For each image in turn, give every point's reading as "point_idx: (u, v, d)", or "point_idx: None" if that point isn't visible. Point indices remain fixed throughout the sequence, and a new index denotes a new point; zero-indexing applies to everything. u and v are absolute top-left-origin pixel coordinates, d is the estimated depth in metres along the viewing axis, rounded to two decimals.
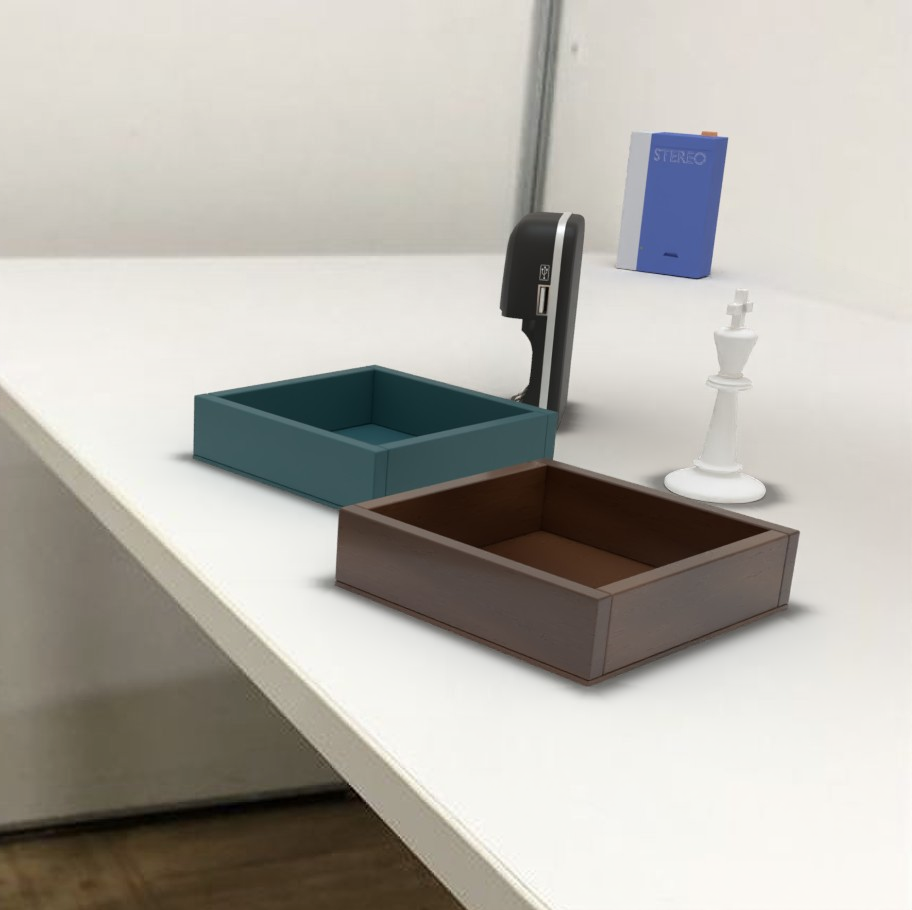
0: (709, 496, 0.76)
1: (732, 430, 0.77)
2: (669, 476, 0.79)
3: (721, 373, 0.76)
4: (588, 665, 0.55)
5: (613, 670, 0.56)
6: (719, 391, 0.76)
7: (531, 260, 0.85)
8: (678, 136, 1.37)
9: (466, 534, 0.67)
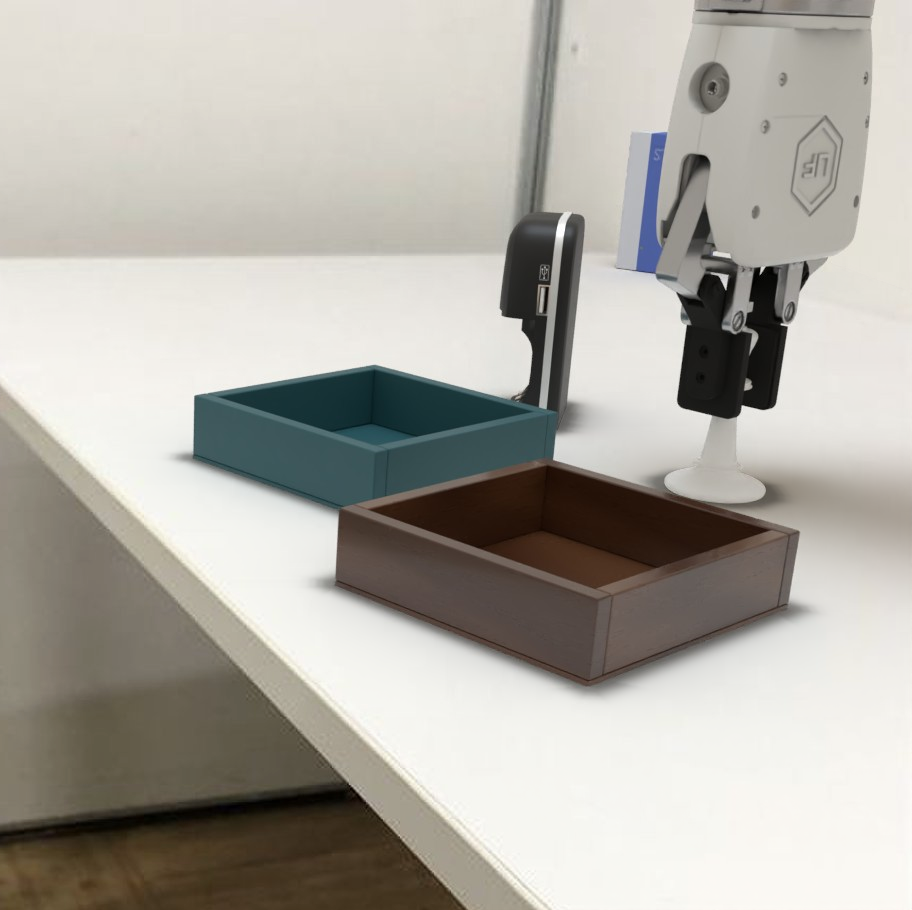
0: (709, 496, 0.76)
1: (732, 430, 0.77)
2: (669, 476, 0.79)
3: None
4: (588, 665, 0.55)
5: (613, 670, 0.56)
6: None
7: (531, 260, 0.85)
8: None
9: (466, 534, 0.67)
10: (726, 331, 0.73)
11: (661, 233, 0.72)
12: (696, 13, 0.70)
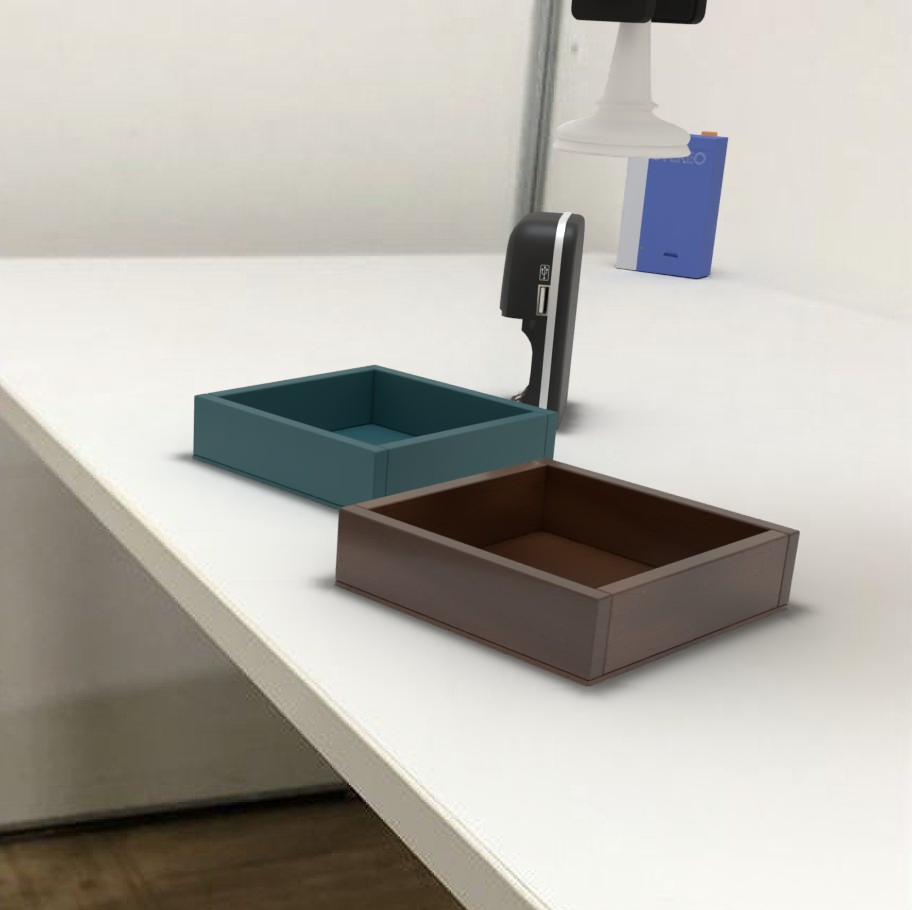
0: (610, 136, 0.56)
1: (644, 50, 0.57)
2: (562, 124, 0.59)
3: None
4: (588, 665, 0.55)
5: (613, 670, 0.56)
6: None
7: (531, 260, 0.85)
8: None
9: (466, 534, 0.67)
10: None
11: None
12: None
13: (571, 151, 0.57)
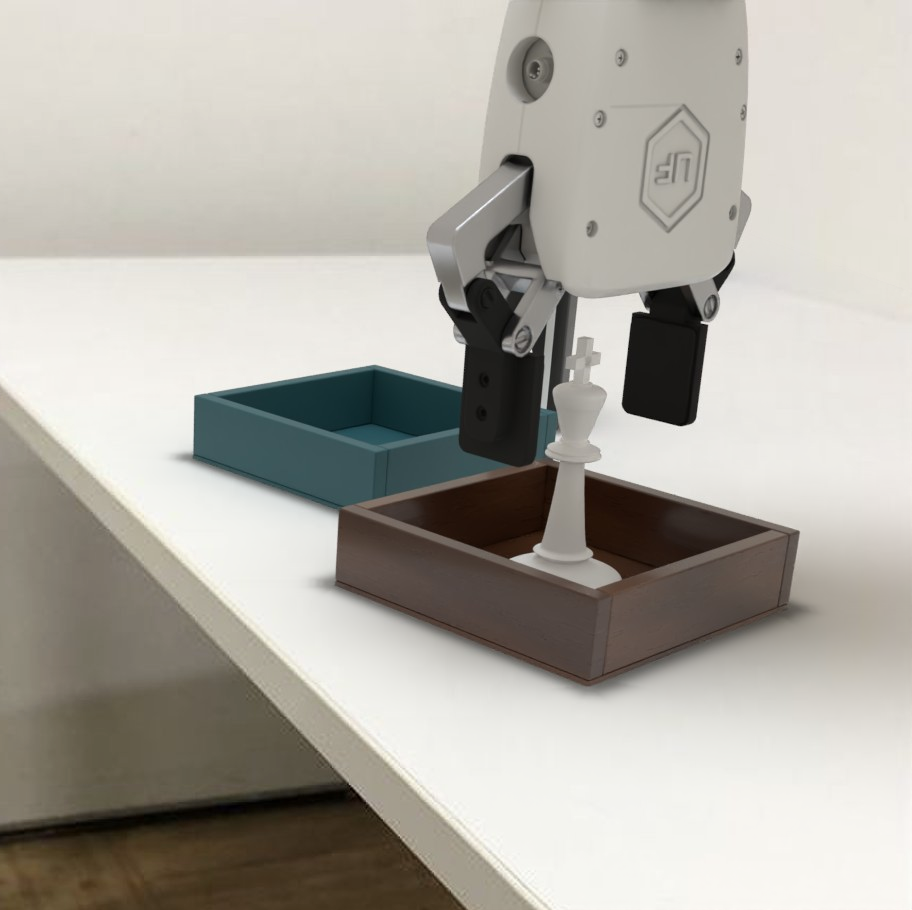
0: None
1: (578, 510, 0.62)
2: None
3: (562, 441, 0.61)
4: (588, 665, 0.55)
5: (613, 670, 0.56)
6: (561, 462, 0.62)
7: None
8: None
9: (466, 534, 0.67)
10: (504, 345, 0.55)
11: None
12: None
13: None
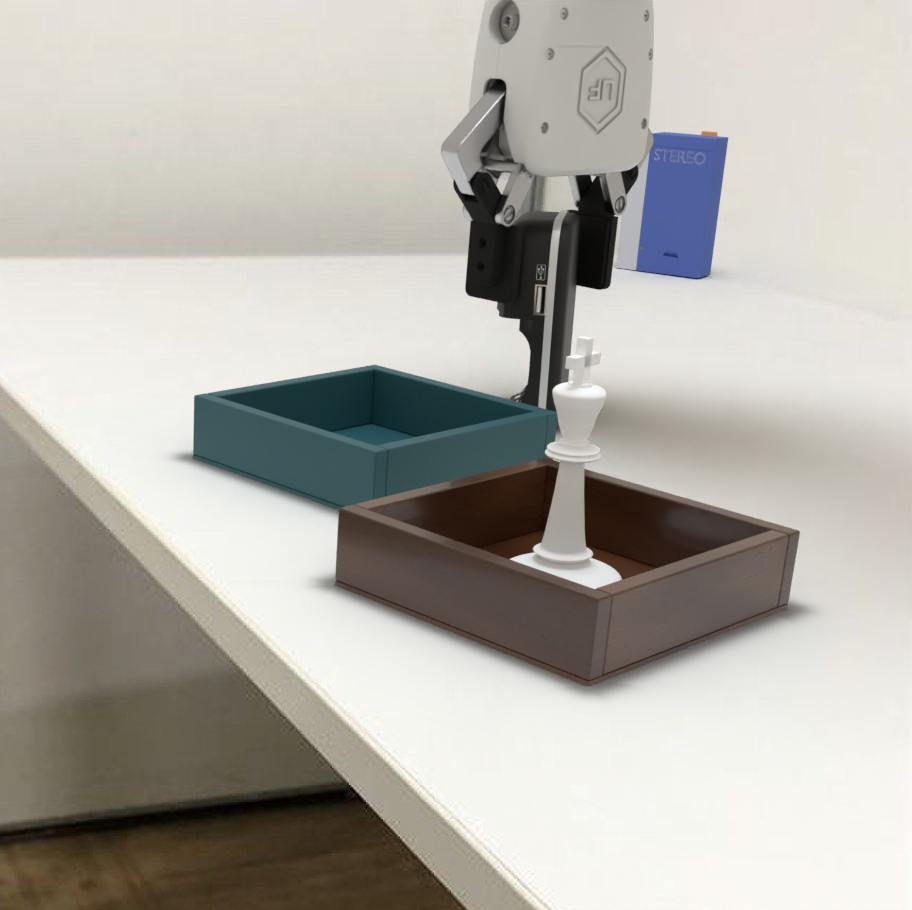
0: None
1: (578, 510, 0.62)
2: None
3: (562, 440, 0.61)
4: (588, 665, 0.55)
5: (613, 670, 0.56)
6: (561, 462, 0.62)
7: (527, 260, 0.85)
8: (678, 136, 1.37)
9: (466, 534, 0.67)
10: (497, 220, 0.83)
11: None
12: None
13: None
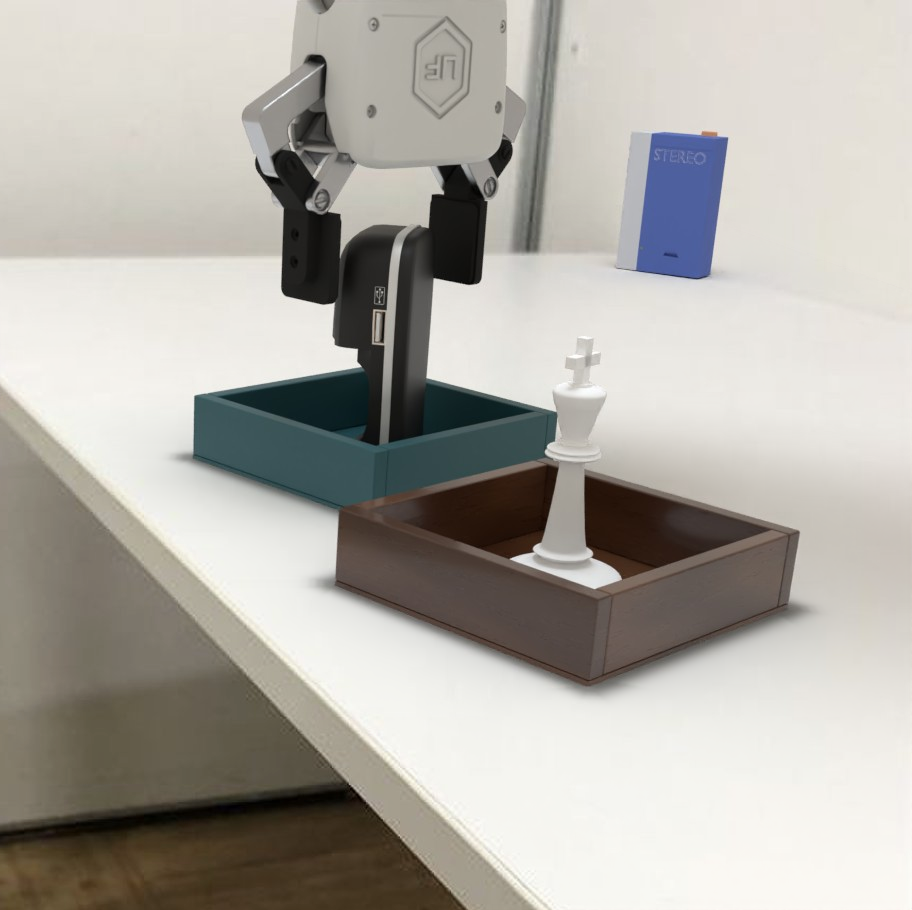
0: None
1: (578, 510, 0.62)
2: None
3: (562, 440, 0.61)
4: (588, 665, 0.55)
5: (613, 670, 0.56)
6: (561, 462, 0.62)
7: (364, 281, 0.73)
8: (678, 136, 1.37)
9: (466, 534, 0.67)
10: (307, 204, 0.71)
11: (293, 136, 0.72)
12: None
13: None
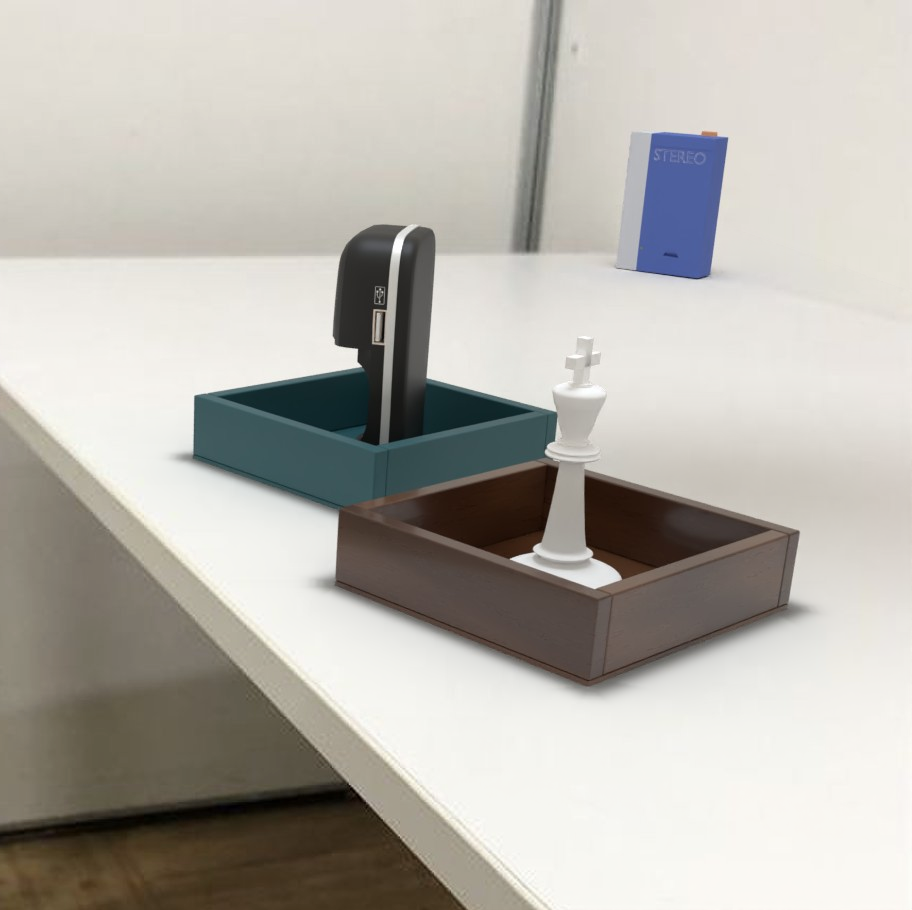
0: None
1: (578, 510, 0.62)
2: None
3: (562, 440, 0.61)
4: (588, 665, 0.55)
5: (613, 670, 0.56)
6: (561, 462, 0.62)
7: (364, 281, 0.73)
8: (678, 136, 1.37)
9: (466, 534, 0.67)
10: None
11: None
12: None
13: None
